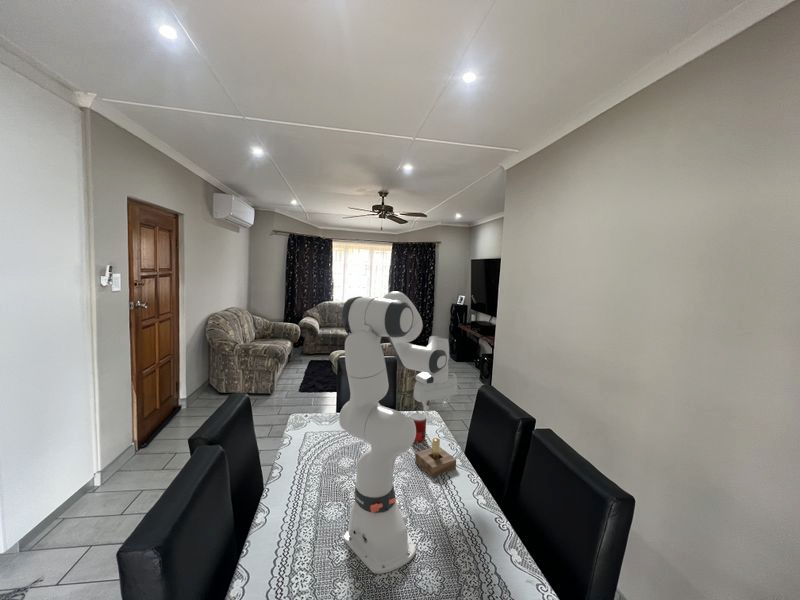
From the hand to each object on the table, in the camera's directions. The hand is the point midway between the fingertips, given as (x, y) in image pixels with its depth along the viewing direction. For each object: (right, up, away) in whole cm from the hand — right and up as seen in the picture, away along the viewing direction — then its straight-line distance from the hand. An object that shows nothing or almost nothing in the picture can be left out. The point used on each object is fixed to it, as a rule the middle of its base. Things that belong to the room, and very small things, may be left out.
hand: (435, 408), depth 135 cm
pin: (0, -23, +2) cm, 23 cm away
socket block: (0, -24, +2) cm, 24 cm away
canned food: (-6, -23, +24) cm, 33 cm away
